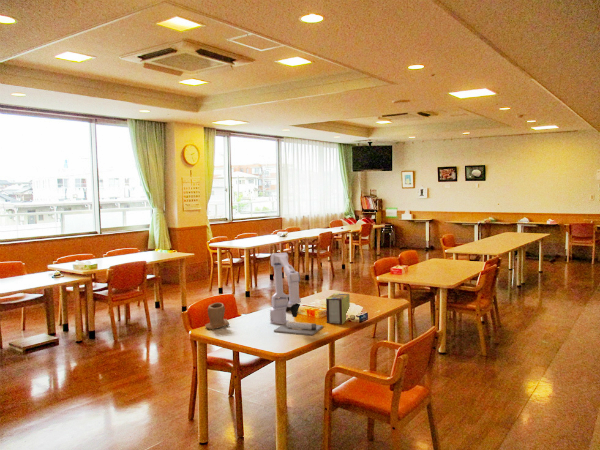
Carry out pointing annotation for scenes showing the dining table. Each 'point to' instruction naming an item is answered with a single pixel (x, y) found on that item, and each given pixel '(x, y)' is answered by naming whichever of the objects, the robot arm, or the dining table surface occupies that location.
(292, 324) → the swing bar
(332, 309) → the protein box
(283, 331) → the label board
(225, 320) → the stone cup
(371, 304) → the dining table surface
